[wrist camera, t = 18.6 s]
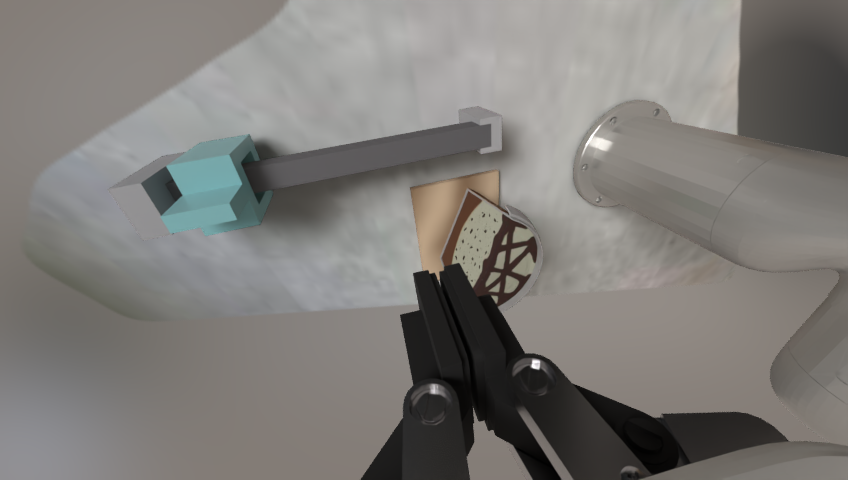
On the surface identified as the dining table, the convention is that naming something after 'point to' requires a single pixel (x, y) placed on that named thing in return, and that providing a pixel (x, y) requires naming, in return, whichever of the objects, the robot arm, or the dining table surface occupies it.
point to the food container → (494, 249)
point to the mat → (445, 211)
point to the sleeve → (216, 188)
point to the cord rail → (310, 165)
